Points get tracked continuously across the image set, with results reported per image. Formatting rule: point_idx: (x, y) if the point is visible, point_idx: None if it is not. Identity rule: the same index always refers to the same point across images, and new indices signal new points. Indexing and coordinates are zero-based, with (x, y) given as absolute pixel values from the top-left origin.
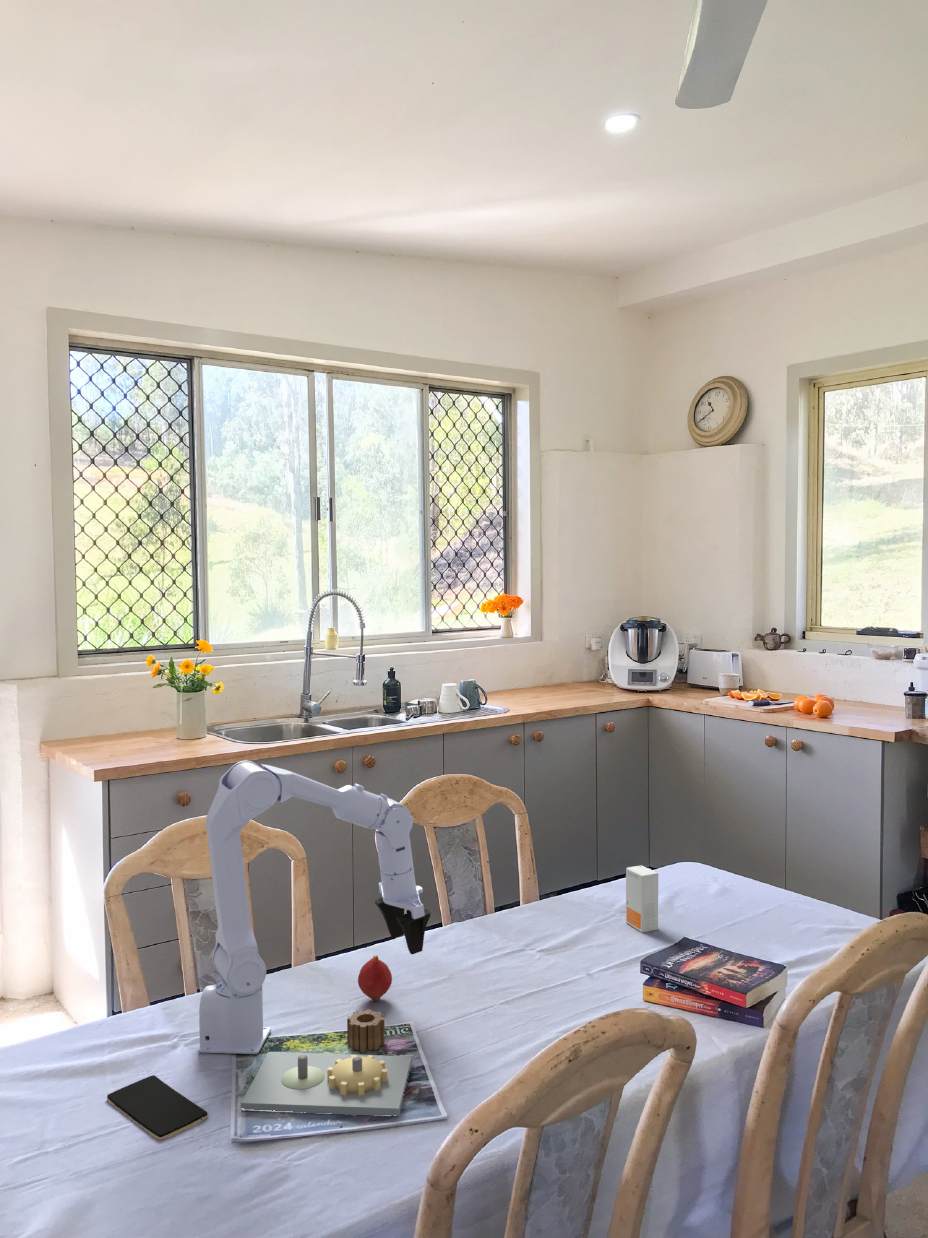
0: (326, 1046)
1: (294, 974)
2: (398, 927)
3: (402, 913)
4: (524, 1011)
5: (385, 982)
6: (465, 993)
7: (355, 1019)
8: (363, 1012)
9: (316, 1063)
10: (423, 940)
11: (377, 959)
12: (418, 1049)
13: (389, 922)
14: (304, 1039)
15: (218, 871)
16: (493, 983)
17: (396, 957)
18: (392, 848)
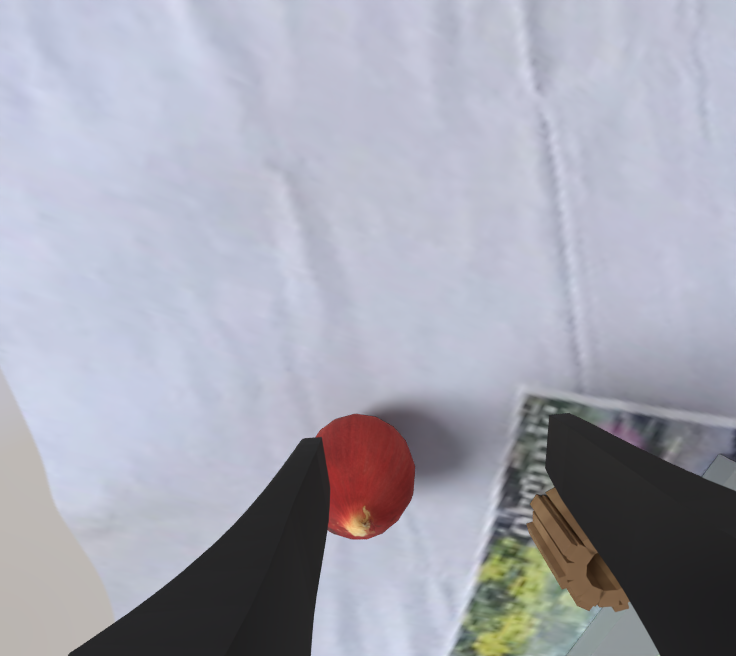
0: (539, 591)
1: (129, 578)
2: (316, 499)
3: (286, 540)
4: (629, 33)
5: (410, 457)
6: (423, 173)
7: (605, 595)
8: (576, 566)
9: (645, 649)
10: (621, 439)
11: (371, 519)
12: (663, 417)
13: (311, 590)
14: (485, 623)
15: None
16: (392, 42)
17: (81, 290)
18: None
